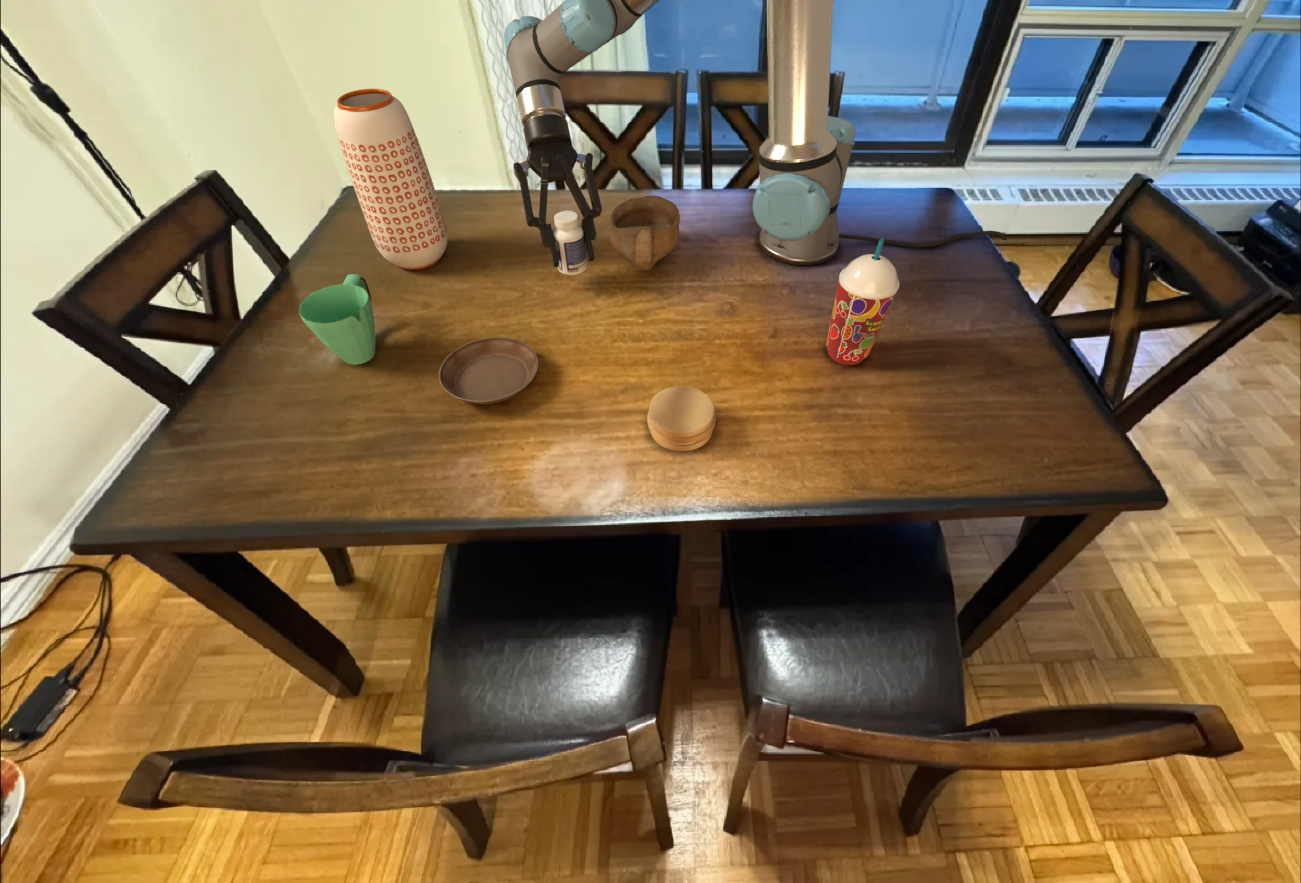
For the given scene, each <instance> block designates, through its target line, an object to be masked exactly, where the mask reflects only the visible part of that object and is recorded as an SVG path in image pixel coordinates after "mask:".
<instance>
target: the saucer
mask: <svg viewBox="0 0 1301 883" xmlns="http://www.w3.org/2000/svg"><path fill="white" fill-rule="evenodd" d="M538 370H539V358H538V355H537V353H536V351H535V350H534V349H533V348H532V347H531V346H530V345H529V344H527V343H525V342H523V341H522V340H519V339H515V338H512V337H504V336H493V337H491V336H490V337H484V338H480V339H476V340H472V341H470V342H467V343H464V344H463V345H461V346H459V347H457V348H456V349H454V350H453V351H452V352H450V353H449V354H448V355H447V356H446V357H445V358H444V360H443V362H442V363H441V365H440V367H439V370H438V380H439V383H440V386H441V387H442V389H443V390H444V391H445V392H446V393H447V394H449V395H450V396H452V397H454V398H455V399H458V400H461V401H462V402H466V403H469V404H476V405H490V404H496V403H502V402H505V401H507V400H509V399H511V398H513V397H515V396H517V395H518V394H520V393H521V392H522V391H524V390H525V389H526V388H527V386H529V384H531V382H532V380H534V377H536V374H537V372H538Z"/></svg>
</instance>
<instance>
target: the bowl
mask: <svg viewBox="0 0 1301 883" xmlns="http://www.w3.org/2000/svg"><path fill="white" fill-rule="evenodd" d="M680 221H681V214H680V210H679V208H678V206H677V205H676V204H675V203H674V202H673V201H671V200H668V199H666V198H665V197H662V196H657V195H645V196H641V197H636V198H629V199H627V200H625V201H624V202H621V203H619V204H618V205H616V206H615V207H614V209H613V210H612V211H611V213H610V215H609V232H608V236H609V241H610V242H609V243H610V244H611V245H612V247H613V248H614V250H615V251H616V252H617V253H618V254H619V255H620V256H621V257H623V258H625V259H627V260H629V261H631V263H632V266H633V267H634V268H635V270H638V271H649V270H651V269H653V267H654V266H655V264H656V263H657V262H658V261H661V260H662V259H663V258H665V257H667V256H668V255H669V254H670V253H671V252H672V251H674V249H675V248H676V246H677V244H678V242H679V238H680V223H681V222H680Z"/></svg>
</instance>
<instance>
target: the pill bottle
mask: <svg viewBox="0 0 1301 883" xmlns="http://www.w3.org/2000/svg"><path fill="white" fill-rule="evenodd" d="M553 217H554V218H553V221H554V227H553V228H552V232H553V237H554V241H555V246H556V251H557V255H558V260H559V267H556V268H557V271H559V272H560V273H561V274H563V275H567V276H576V275H579V274H582V273H583V272H585V271H586V270H587V268H588V259H587V258H588V256H587V249H586V244H585V238H584V230H583V228H582V225H581V224H580V219H579V214H578V213H577V212H575V211H573V210H562V211H559V212H557V213H556V214H554V216H553Z"/></svg>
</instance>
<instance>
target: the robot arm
mask: <svg viewBox="0 0 1301 883" xmlns="http://www.w3.org/2000/svg"><path fill="white" fill-rule="evenodd" d="M659 2H660V0H564V1H563V2H562V3H561V4H559V5H558V6H557V7H556V8H555V9H554V10H552V11H551V13H549V14H548V15H547V16H546V17H545V18H543V19H541V18H540V17H536V16H532V15H522V16H521V17H520V18H518V19H516V18H515V19H512V20H511V21H510V22H508V24H507V25H506V26H505V29H504V33H503V38H504V45H505V55H506V61H507V63H508V68H509V71H510V75H511V79H512V84H513V88H514V92H515V98H516V103H517V107H518V112H519V118H520V122H521V125H522V126H523V128H522V131H523V136H524V140H525V145H526V149H527V156H526V160H524V161H522V162H518V161H517V162H514V163H513V165H512V166H513V173H514V175H515V177H516V179H517V180H518V183H519V187H520V193H521V198H522V203H523V204H522V205H523V209H524V215H525V220H526V224H527V226H528V227H530V228H537V229H538V230H539V234H540V238H541V244H542V246H543V248H549V250H550V255H551V259H552V263H553V268H557V267H559V260H558V255H557V251H556V246H555V241H554V237H553V232H552V231H553V228H552V227H553V226H552V224H551V223H547V209H548V192H549V184H551V183H554V182H556V181H557V182H564V184H565V186H566V187H567V188H568V190H569V192H570V194H571V196H572V198H573V200H574V202H575V203H576V206H577V208H578V210H579V212H580V214H581V216H582V219H581V224H580V225H581V226H582V228H583V230H584V238H585V248H586V254H587V258H588V262H594V260H595V259H596V255H595V250H594V245H593V241H594V240H596V238H597V230H596V225H595V220H594V219H596V218H598V217H600V216H601V215H602V210H603V206H602V202H601V198H600V194H599V190H598V186H597V181H596V178H595V173H594V168H593V160H594V155H593V153H591V152H587V153H586V154H583V153H578V152H577V150H576V149H575V147H574V146H573V142H572V138H571V132H570V128H569V123H568V121H567V114H566V108H565V105H564V101H563V100H564V99H563V96H562V91H561V84H560V80H559V78H560V76H562V75H563V74H565V73H566V72H568V70H570V69H571V68H573V67H574V66H576V65H577V64H578V63H580V62H582V61H583V60H584V59H586V58H587V57H589V56H590V55H592V54H593V53H594V52H597V51H598V50H599V49H600V48H602V47H603V46H605V45H606V44H608V43H609V42H611V41H613V40H614V39H615V38H617V37H619V36H622V35H623V34H625V33H626V32H627V31H629V30H630V29H631V28H632V27H633V26H634V24H635V23H636V22H637V21H638V20H639V19H640V18H642V16H643V15H645V14H646V13H647V12H648V11H649V10H651V9H652V7H654V6H655V5H656V4H658V3H659ZM834 3H835V1H834V0H766V39H767V40H766V41H767V43H766V44H767V45H766V46H767V98H768V99H767V100H768V101H767V106H768V107H767V108H768V111H767V112H768V115H767V116H768V117H767V118H768V136H767V137H766V139H765V140H764V141H763V142H762V143H761V145H760V146H759V149H758V161H759V166H758V167H759V185H758V186H757V187H756V189H755V192H754V194H753V199H752V212H753V216H754V217H753V218H754V220H755V221H756V223H757V224H758V226H759V228H760V231H759V238H758V245H759V248H760V249H761V251H762V252H763V253H764V254H765V255H766V256H768V257H770V258H772V259H773V260H776V261H778V262H780V263H783V264H788V265H793V266H814V265H819V264H824V263H825V262H828V261H830V260H831V259H832V258H833V257H835V256H836V254H837V252H838V248H839V244H840V239H844V240H845V239H846V240H855V241H864V242H871V243H879V240H880V239H881V238H879V237H870V236H860V235H850V234H840V232H839V231H840V230H839V221H838V220H839V219H838V208H839V204H840V199H841V195H842V191H843V187H844V183H845V180H846V175H847V171H848V168H849V164H850V159H851V156H852V152H853V148H854V146H855V145H856V143H855V139H856V133H857V132H856V127H855V126H854V124H853V123H851V122H850V121H847V120H846V119H843V118H841V117H836V116H831V115H829V102H830V101H829V100H830V83H831V63H832V62H831V61H832V44H833V43H832V42H833V24H834V23H833V22H834ZM576 163H578V164H579V167H580V169H582V170H583V175H584V180H585V184H586V187H587V193H588V195H589V199H590V204H591V207H590V205H589V203H588V201H587V199H586V197H585V195H584V193H583V191H582V190H581V188H580V186H579V183H578V182H577V180H576V177H575V174H574V171H573V170H574V167H575V165H576ZM529 169H530V170H531V171H532V172H534V173H535V175H536V176H538V177H539V178H540V185H539V187H540V188H539V201H538V202H539V205H538V216H534V210H533V205H532V199H531V193H530V187H529V183H528V176H529ZM986 235H987V236H988V235H993V236H996V237H998V238H1000V239H1001V240H1002V241H1008V240H1007V237H1006V235H1005V234H1003V233H1002V232H1000V231H997V230H982V231H975V232H968V233H959V234H956V235H952V236H950V237H947V238H945V239H942V240H938V241H933V242H907V241H900V240H892V239H886V238H883V239H884V243H883V244H887V245H888V244H889V245H893V246H894V245H895V246H900V247H901V246H902V247H909V248H930V247H937V246H940V245H944V244H946V243H950V242H952V241H955V240H959V239H963V238H972V237H979V236H986Z"/></svg>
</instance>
